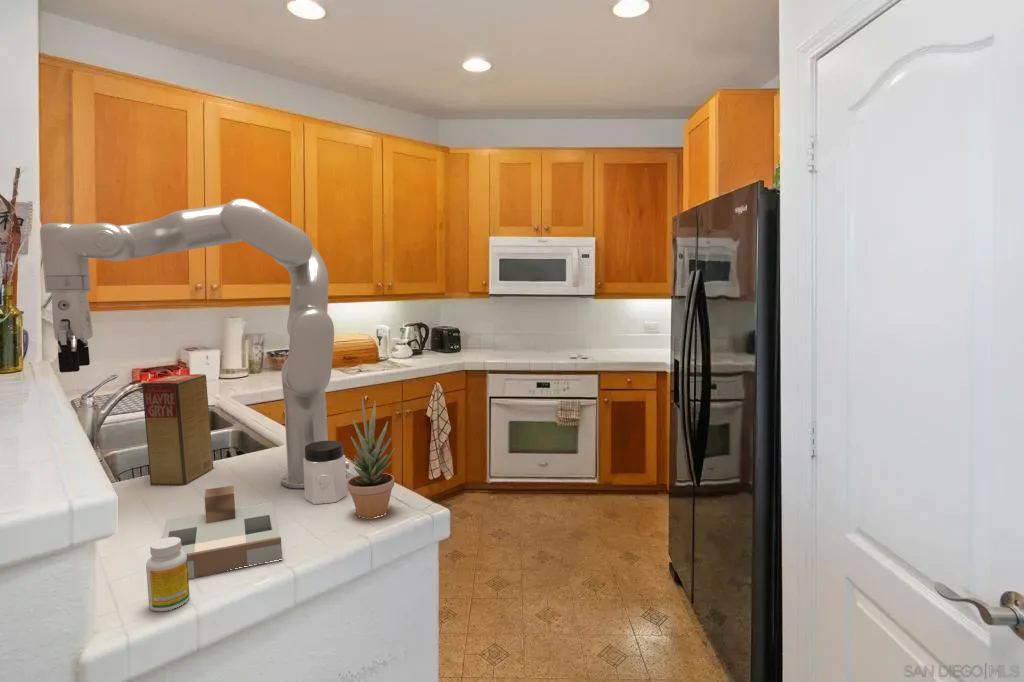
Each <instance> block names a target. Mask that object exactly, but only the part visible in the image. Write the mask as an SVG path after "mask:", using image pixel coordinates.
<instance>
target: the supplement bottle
mask: <svg viewBox="0 0 1024 682" xmlns="http://www.w3.org/2000/svg"><path fill="white" fill-rule="evenodd" d="M181 547H182V545H181V539H180V538H178V537H168V538H163V539H162V538H161V539H158V540H155V541H153V542H152V543H151V544H150V546H149V548H150V555H151V556H150V557H149V558H148V559H147V561H146V564H145V565H146V567H145V569H146V580H147V581H146V582H147V583H146V584H147V594H148V596H147V597H148V599H147V600H148V604H149V605H148V606H149V609H151V611H154V612H169V611H173V610H175V609H174V608H176V609H178V608H180V607H182V606H183V604H184V603H185V604H186V603H187V602H188V601H189V599H190V596H191V594H190V583H189V582H190V581H189V580H190V579H188V563H187V555H186V553H185V552H184V551H182V550H180V549H181ZM185 604H184V605H185ZM181 605H182V606H181ZM179 606H180V607H179ZM177 607H178V608H177ZM172 609H173V610H172ZM168 610H169V611H168Z"/></svg>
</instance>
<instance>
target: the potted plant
mask: <svg viewBox="0 0 1024 682" xmlns="http://www.w3.org/2000/svg"><path fill="white" fill-rule="evenodd" d="M364 402H365V401H364V396H363V397H361V414H362V419H363V428H364V435H363V434H362V432H361V430H360V429H359V426H358V424H357V423H356V421H355V419H354V418H352V419H351V420H352V424H353V427H354V429H355V432H356V434H357V436H358V439H359V443H360V445H361V446H360V445H359V444H358V443H357V441H356V440H355V438H353V436H352V435H350V438H351V441H352V444H353V446H354V448H355V450H356V452H357V455H358V456H359V457H358V456H357V455H354V458H353V460H354V461H353V460H352V459H350V458H347V459H348V460H347V461H348V462H349V461H350V463H351V464H353V465H354V466H352V467H353V469H354V470H355V471H356V473H357V474H358V475H356V476H353V477H351V478H349V479H348V480H346V486H347V492H349V494H350V496H351V499H352V502H353V504H354V506H355V507H354V508H355V513H356V515H357V517H358V516H360V517H364V518H374V517H377V516H381V515H384V514H385V513H386V514H387V513H388V510H389V503H390V499H391V494H392V490H393V488H394V486H395V476H394V475H393V474H390V473H385V472H384V471H385V470H386V469H387V468H388V467H389V466H390V465H391V463H392V462H393V461H392V460H391V461H389V459H390V458H391V456H392V454H393V453H394V452H395V450H396V447H397V446H394V447H393V448H392V450H391V451H390V452H389V453H388V454H385V455H384V453H385V452H386V450H387V448H388V446H389V444H390V442H391V440H392V436H390V437H389V438H388V440H387V441H386V442H385V443H384V444H382V443H383V441H384V438H385V435H386V433H387V429H388V423H389V421H386V423H385V425H384V427H383V429H382V431H381V432H380V435H379V436H378V438H377V439H376V441H375V432H376V431H375V429H376V413H377V412H376V408H377V407H376V405H377V404H376V400H374V401H373V408H372V412H371V417H370V418H369V424H368V421H367V415H366V410H365V403H364ZM382 445H383V446H382ZM381 446H382V447H381ZM383 455H384V456H383ZM388 461H389V462H388ZM387 462H388V463H387ZM383 472H384V473H383ZM384 516H385V515H384ZM360 517H359V518H360ZM364 518H363V519H364ZM374 519H375V518H374Z"/></svg>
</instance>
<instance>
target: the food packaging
mask: <svg viewBox="0 0 1024 682" xmlns="http://www.w3.org/2000/svg"><path fill="white" fill-rule="evenodd" d="M207 383H208V382H207V375H206V374H203V373H202V374H201V373H198V374H197V373H195V374H172V375H170V376H165V377H162V378H159V379H154V380H151V381H146V382H142V383H141V388H142V397H143V398H142V399H143V400H142V401H143V412H144V423H145V433H146V443H147V456H148V467H149V468H148V469H149V470H148V471H149V481H150V482H149V485H150V486H185V484H186V485H188V484H189V482H190V483H192V481H195V480H196V479H198V478H200V477H201V475H202V476H203V475H205V474H207V473H209V472H210V471H212V470H213V469H215V468H214V459H213V449H212V447H213V446H212V435H211V434H212V433H211V423H210V422H211V421H210V410H209V409H210V407H209V397H208V386H207V385H208V384H207ZM211 469H212V470H211ZM208 471H209V472H208ZM206 472H207V473H206ZM199 476H200V477H199ZM194 479H195V480H194ZM187 483H188V484H187Z"/></svg>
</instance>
